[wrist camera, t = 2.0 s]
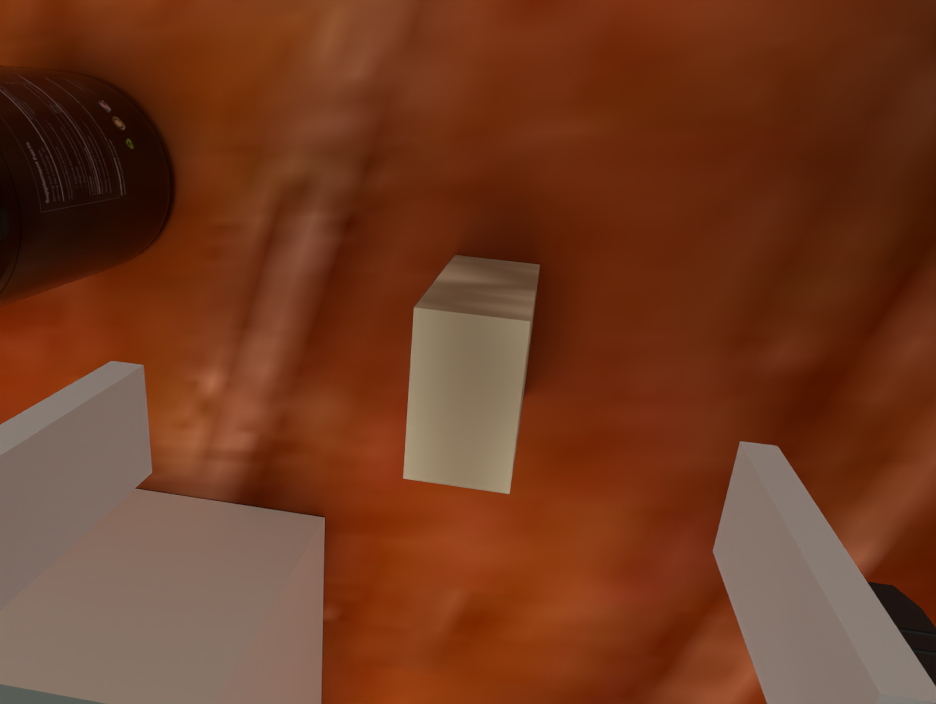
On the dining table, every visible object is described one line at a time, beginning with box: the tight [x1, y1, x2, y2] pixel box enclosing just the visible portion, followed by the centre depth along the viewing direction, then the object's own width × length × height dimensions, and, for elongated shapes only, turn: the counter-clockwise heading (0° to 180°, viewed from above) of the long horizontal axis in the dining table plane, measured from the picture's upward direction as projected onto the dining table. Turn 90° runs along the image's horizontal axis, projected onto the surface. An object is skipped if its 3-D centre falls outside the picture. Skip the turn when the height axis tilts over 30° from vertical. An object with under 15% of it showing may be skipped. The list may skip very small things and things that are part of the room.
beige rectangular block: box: [403, 255, 540, 494], centre depth 22 cm, size 3×5×7 cm, turn 175°
